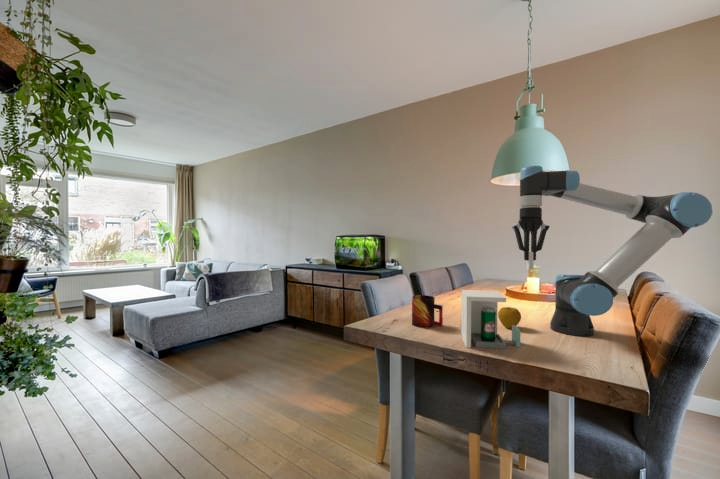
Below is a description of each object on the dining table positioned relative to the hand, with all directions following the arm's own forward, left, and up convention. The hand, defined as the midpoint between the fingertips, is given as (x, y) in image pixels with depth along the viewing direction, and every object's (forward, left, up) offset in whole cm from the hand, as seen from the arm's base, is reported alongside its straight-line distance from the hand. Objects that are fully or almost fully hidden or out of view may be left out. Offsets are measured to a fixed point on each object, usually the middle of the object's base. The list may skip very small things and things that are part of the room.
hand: (529, 268), depth 126 cm
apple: (+4, -12, -27) cm, 29 cm away
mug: (+38, -10, -27) cm, 47 cm away
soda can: (+17, +10, -26) cm, 32 cm away
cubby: (+19, +10, -26) cm, 34 cm away
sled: (+14, +10, -26) cm, 32 cm away
